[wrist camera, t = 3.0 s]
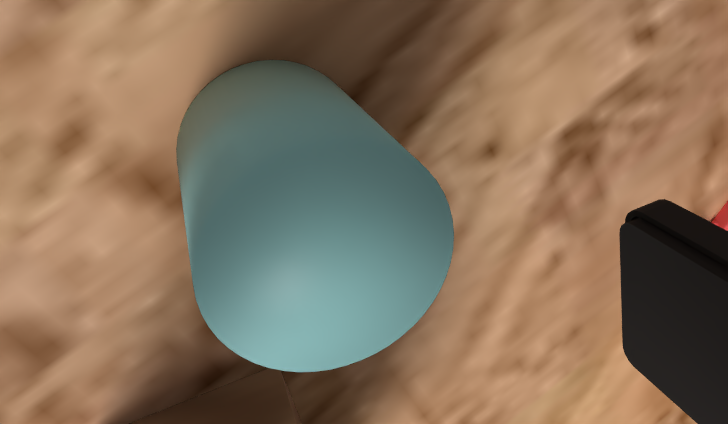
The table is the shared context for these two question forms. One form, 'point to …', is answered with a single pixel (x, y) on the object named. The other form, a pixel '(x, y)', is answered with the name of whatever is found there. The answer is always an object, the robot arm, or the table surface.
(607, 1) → the table surface
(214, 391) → the walnut base block
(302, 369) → the teal cylinder
